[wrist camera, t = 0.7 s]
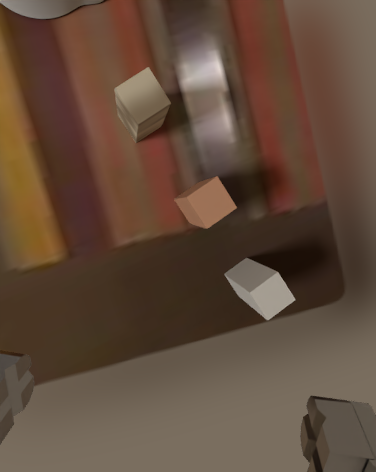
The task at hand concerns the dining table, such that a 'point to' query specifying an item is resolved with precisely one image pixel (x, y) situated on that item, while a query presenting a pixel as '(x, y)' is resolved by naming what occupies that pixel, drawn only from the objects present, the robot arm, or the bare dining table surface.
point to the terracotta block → (205, 202)
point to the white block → (260, 287)
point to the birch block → (141, 104)
